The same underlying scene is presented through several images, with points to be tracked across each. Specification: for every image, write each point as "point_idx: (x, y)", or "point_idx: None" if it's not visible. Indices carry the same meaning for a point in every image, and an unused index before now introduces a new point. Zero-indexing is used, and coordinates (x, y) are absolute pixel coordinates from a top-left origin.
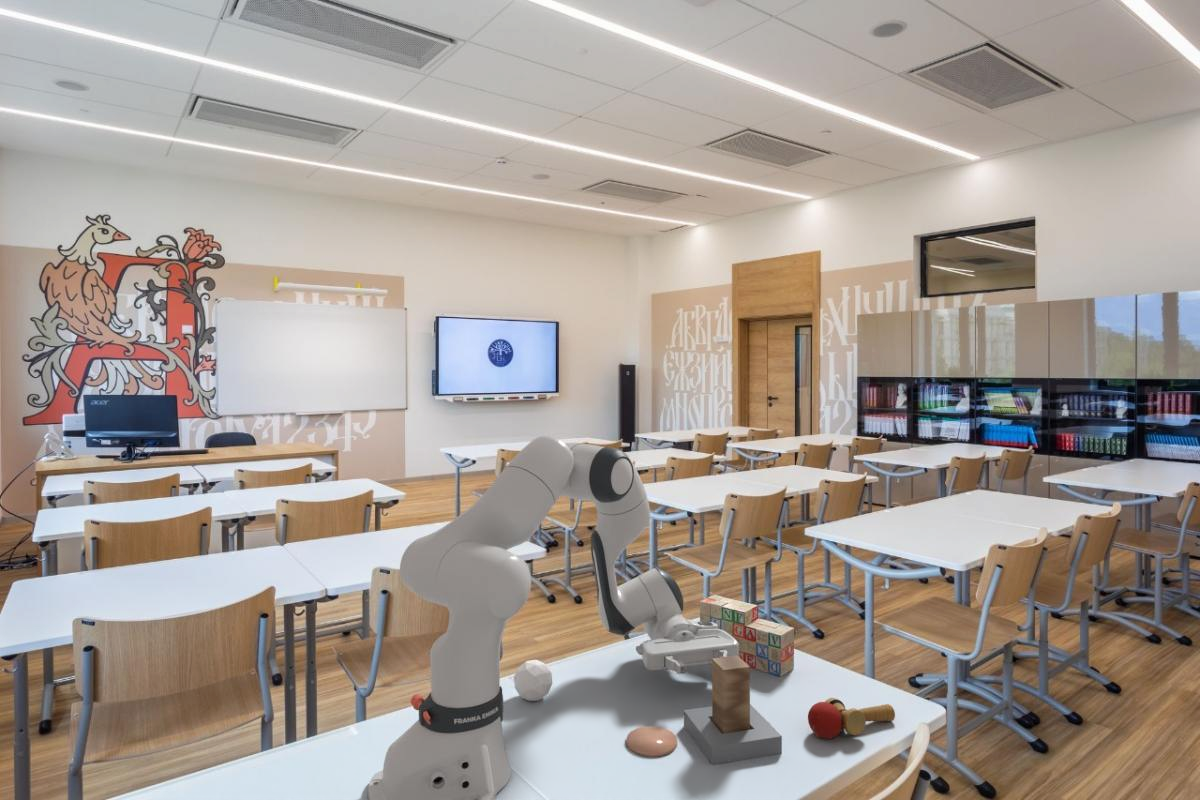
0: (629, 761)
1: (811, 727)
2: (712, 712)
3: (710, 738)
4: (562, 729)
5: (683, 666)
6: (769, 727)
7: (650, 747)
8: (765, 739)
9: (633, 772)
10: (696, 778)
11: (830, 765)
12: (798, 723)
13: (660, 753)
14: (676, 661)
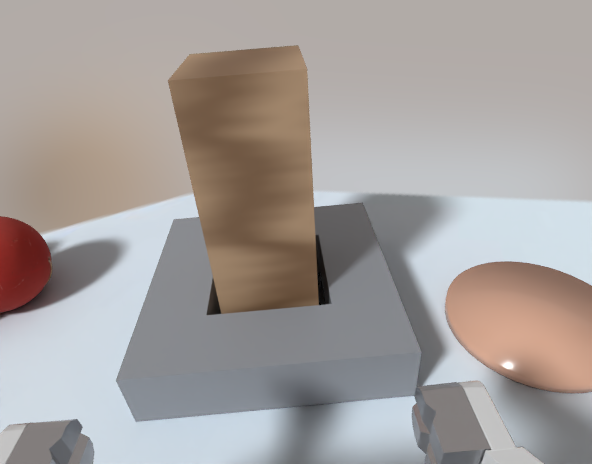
0: (578, 261)
1: (47, 271)
2: (317, 279)
3: (357, 223)
4: None
5: (429, 385)
6: (174, 244)
7: (529, 280)
8: None
9: (553, 233)
10: (404, 213)
11: (122, 222)
12: (13, 356)
13: (494, 264)
14: (501, 453)
